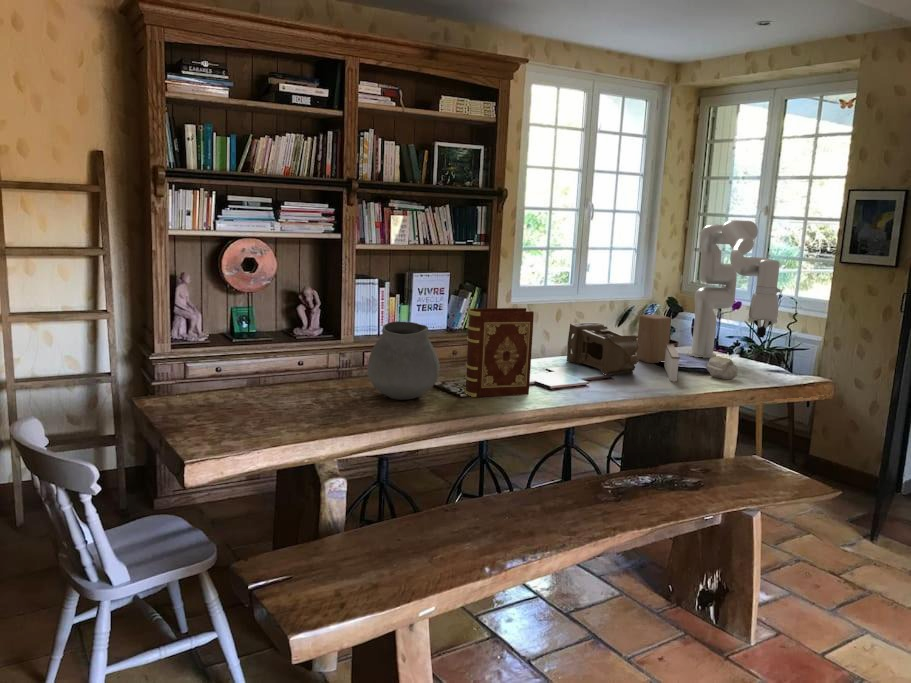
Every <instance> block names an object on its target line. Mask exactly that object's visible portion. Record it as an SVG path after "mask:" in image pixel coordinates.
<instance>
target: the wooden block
mask: <svg viewBox="0 0 911 683" xmlns="http://www.w3.org/2000/svg"><path fill="white" fill-rule="evenodd" d="M638 320H639V321H638V329H637V330H638V331H637V336H638V338H637V341H638V342H637V343H638V346H639V347H638V350H637V352H636V356H637V357H638V361H642V362H644V363H647V364H660V363H659V362H661V361H665V353H666V344H670V334H671V326H672V318H671V317H669V316H665V315H662V314H657V313H653V314H641V315H639V318H638Z"/></svg>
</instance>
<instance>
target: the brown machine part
mask: <svg viewBox="0 0 911 683" xmlns="http://www.w3.org/2000/svg"><path fill="white" fill-rule="evenodd" d="M637 340H638V335H624V334H620V333H619V332H616V331H614V330H611V329H609V328H608V326H605V325H604V324H602V322H599V321H596V322H595V321H594V322H593V321H592V322H575V323H570V324H569V330H568V337H567V345H566V347H567V348H566V349H567V350H566V351H567V352H566V362H569V363H576V364H577V365H587V366H590V367H593V368H596V369H599V370H600V372H601V373H602V374H603V373H604V374H612V375H619V374H631V373H632V374H633V373H634V371H635V369H636V365H637V364H638V363H639V360H638V357H637V356H636V352H637V350H638V347H639V346H638V343H637V342H638V341H637Z"/></svg>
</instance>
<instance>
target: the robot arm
mask: <svg viewBox="0 0 911 683" xmlns="http://www.w3.org/2000/svg"><path fill="white" fill-rule="evenodd" d="M758 234H759V229H758V226H757V224H756V223H755V222H754V221H752V220H740V219H734V220H733V219H732V220H728V221H726V222H725V223H724V224H709V225H706V226H704V227H703V228H702V229H701V231H700V235H699V245H700V249H701V251H700V253H701V258H700V271H699V279H700V282H701V283H702V284H706V285H721V287H715V286H714V287H710V286H706V287H705V286H703V287H700V288H699V289H697V290H696V291H695V293H694V308H695V309H694V310H695V311H694V321H693V322H694V323H693V331H692V341H691V349H690V350H688V351H687V355H688V356H690V357H693V356H694V358H698V357H703V358H702V359H710V358H712V357H717V354H716V353H715V352H714V346H715V337H716V328H717V321H718V320H717V319H718V318H717V315H716V314H715V311H714V310H713V309H721V310H722V309H731V307H733V306H734V304H735V298H736V290H737V289H736V288H737V277H738V276H737V274H738V275H739V276H742V277H756V286H755V293H753V294H752V296H751V299H750V300H751V301H750V305H749V308H748V319H747V321H748V322H750V323H753V324H754V325H756V327H757V328H756V336H757V337H758V338H762V339H764V337H765V336H766V333H767V328H768V327H769V326H771V325H773V324H777V323H778V317H779V316H778V315H779V295H777V294H778V293H781V288H778V282H779V274H780V266H781V265H780V261H779V260H778V259H777V260H776V259H770V258H768V257H756V256H755V257H754V256H753V257H752V256H744V255H747V254H748V253H749V252H751V251H752V250H753V248H754V245H755V243H754V240H756V238H757V236H758ZM719 245H729V246H730V247H731V249H732V250H731V252H730V254H729V255H730V256H729V260H730V263H723V262H722V252H721V248H720V247H719ZM762 321H763V323H762Z"/></svg>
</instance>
